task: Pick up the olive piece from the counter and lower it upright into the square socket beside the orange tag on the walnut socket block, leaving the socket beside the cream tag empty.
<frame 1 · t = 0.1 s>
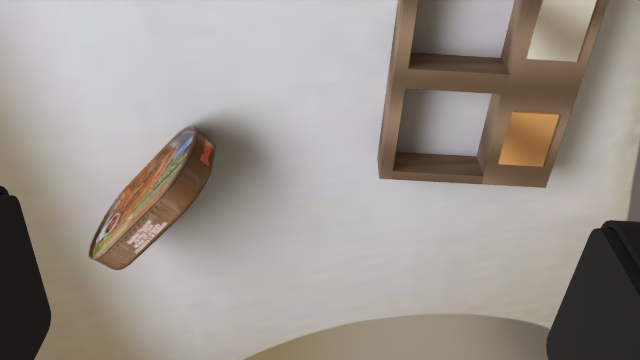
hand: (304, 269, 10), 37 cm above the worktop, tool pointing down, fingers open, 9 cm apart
socket block: (478, 66, 47), on the worktop
tin: (163, 171, 54), on the worktop
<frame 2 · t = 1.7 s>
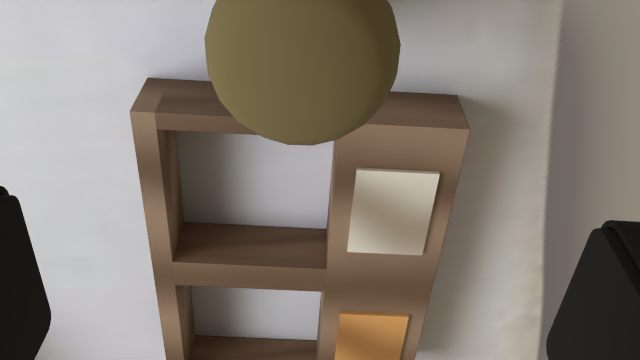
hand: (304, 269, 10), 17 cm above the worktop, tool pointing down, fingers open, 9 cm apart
socket block: (296, 239, 32), on the worktop
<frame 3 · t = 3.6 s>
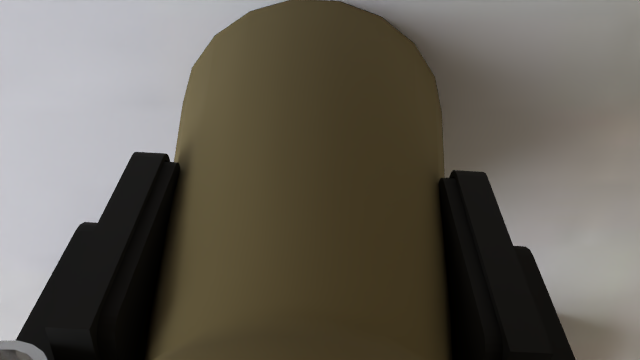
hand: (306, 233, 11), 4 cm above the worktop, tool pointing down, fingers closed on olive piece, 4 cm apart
olive piece: (312, 121, 14), on the worktop, touching gripper
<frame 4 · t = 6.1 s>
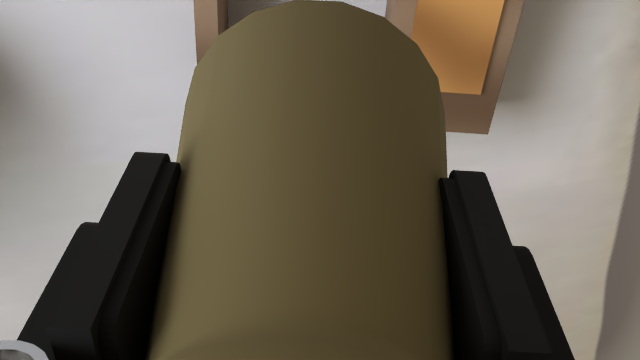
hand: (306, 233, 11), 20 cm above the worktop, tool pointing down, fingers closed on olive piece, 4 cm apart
olive piece: (314, 122, 14), point 16 cm above the worktop, touching gripper
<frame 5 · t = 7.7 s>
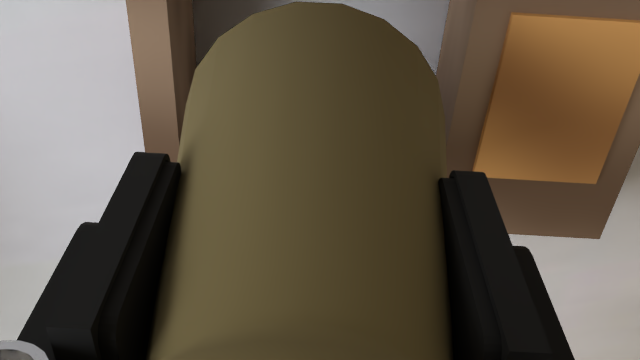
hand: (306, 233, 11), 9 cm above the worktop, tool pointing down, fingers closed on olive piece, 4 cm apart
olive piece: (315, 124, 14), point 5 cm above the worktop, touching gripper
when the fingers open (5 cm above the worktop, at t = 8.9 s): olive piece drops 1 cm, resting in socket block.
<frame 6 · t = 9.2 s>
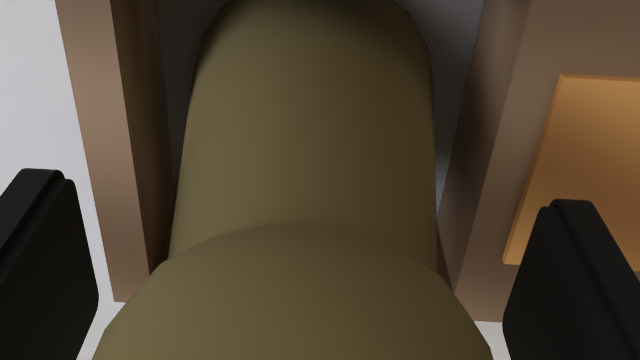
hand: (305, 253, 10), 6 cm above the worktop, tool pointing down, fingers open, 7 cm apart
olive piece: (313, 88, 15), resting in socket block
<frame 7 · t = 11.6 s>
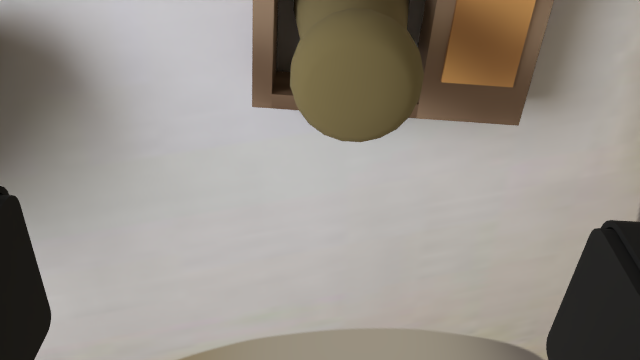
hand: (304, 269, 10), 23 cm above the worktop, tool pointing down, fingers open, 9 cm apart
olive piece: (350, 3, 31), resting in socket block
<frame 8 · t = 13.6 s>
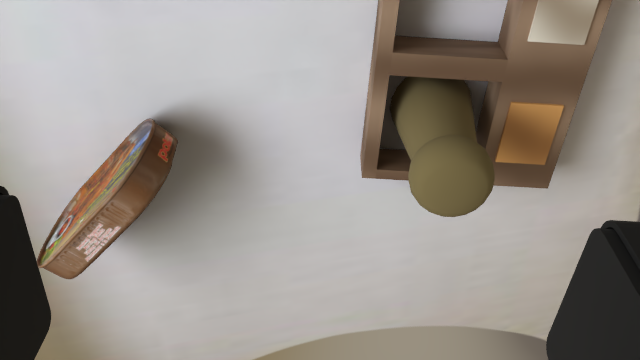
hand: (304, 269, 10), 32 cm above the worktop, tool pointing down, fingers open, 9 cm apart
olive piece: (430, 104, 45), resting in socket block
socket block: (472, 51, 42), on the worktop
tin: (123, 169, 49), on the worktop
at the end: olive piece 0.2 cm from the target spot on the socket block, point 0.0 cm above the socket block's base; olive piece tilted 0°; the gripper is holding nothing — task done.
